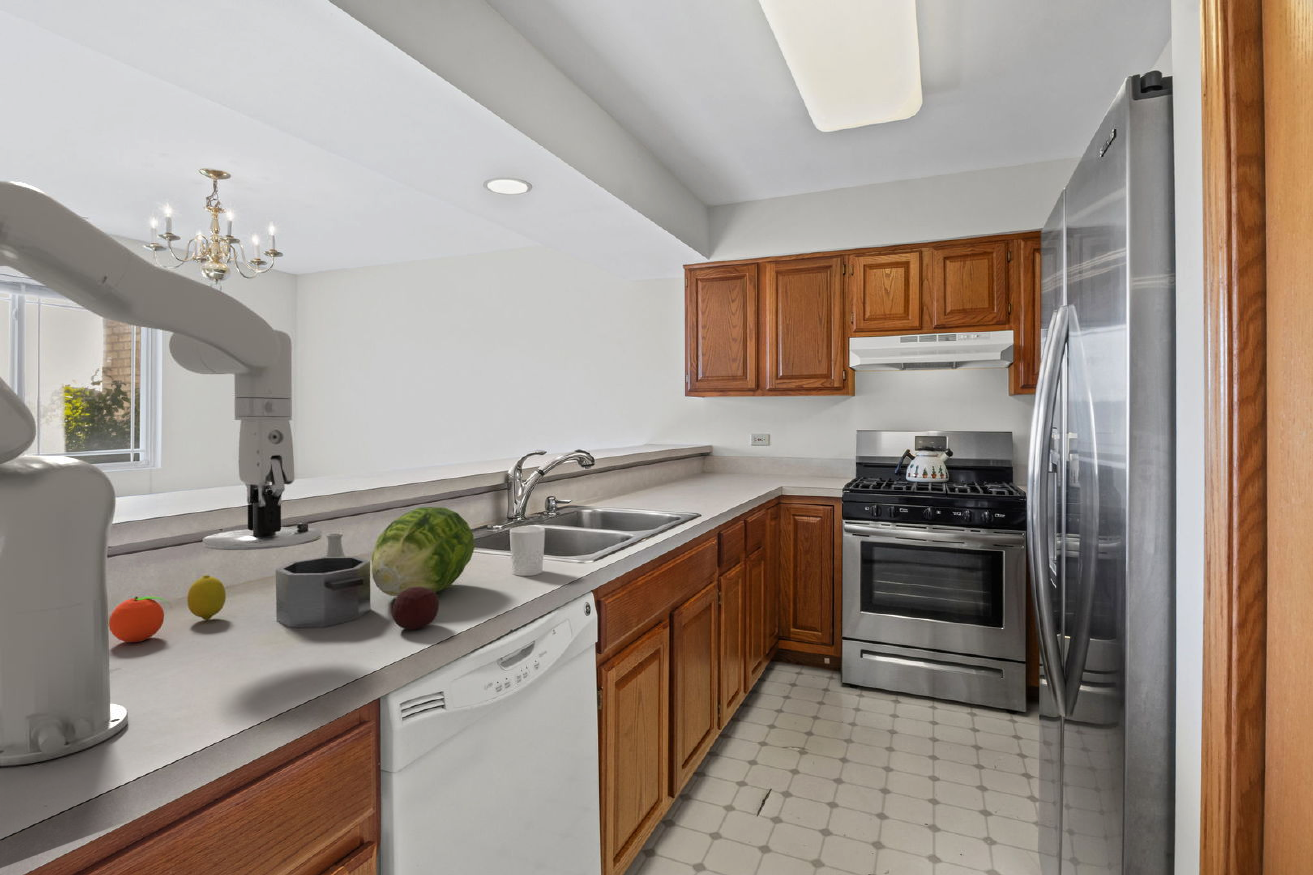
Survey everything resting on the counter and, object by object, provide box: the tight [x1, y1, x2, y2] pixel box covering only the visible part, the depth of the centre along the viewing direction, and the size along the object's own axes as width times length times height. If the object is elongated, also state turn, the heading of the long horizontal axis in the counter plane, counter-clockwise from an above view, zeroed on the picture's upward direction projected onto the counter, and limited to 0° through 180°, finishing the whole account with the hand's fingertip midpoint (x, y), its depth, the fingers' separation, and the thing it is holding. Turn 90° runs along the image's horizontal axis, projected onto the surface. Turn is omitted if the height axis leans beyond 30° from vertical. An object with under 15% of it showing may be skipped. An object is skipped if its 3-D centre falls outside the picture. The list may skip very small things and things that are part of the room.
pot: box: [275, 556, 372, 629], centre depth 119 cm, size 19×14×9 cm
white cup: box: [509, 525, 546, 577], centre depth 151 cm, size 8×8×10 cm
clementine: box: [108, 596, 173, 643], centre depth 105 cm, size 8×7×7 cm
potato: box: [391, 587, 440, 631], centre depth 112 cm, size 7×8×7 cm
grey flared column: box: [324, 532, 346, 557], centre depth 144 cm, size 7×7×10 cm
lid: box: [202, 502, 323, 551], centre depth 101 cm, size 16×16×6 cm
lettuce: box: [371, 506, 475, 597], centre depth 132 cm, size 17×23×17 cm
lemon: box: [187, 574, 227, 621], centre depth 115 cm, size 6×6×8 cm
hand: (264, 529), depth 101 cm, fingers closed on lid, 3 cm apart
